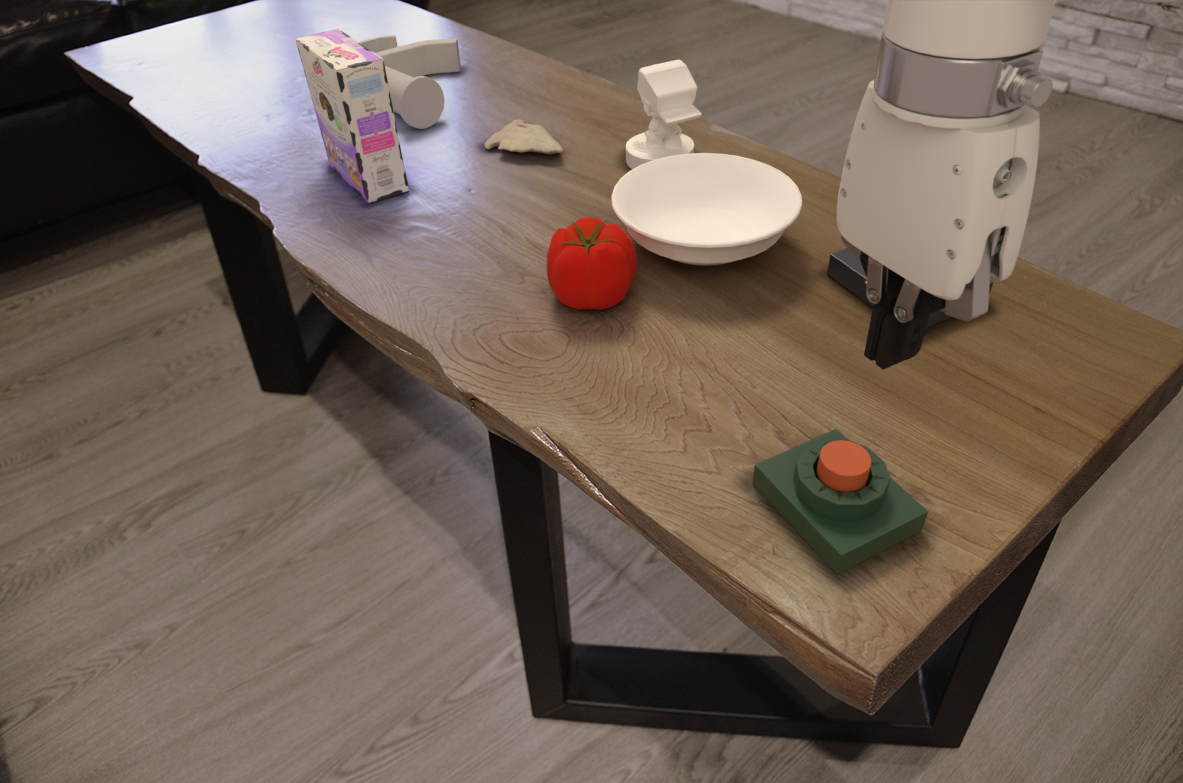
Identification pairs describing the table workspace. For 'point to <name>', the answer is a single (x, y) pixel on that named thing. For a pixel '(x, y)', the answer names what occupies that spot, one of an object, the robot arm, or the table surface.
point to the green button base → (838, 505)
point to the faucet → (416, 75)
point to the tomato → (591, 264)
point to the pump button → (843, 466)
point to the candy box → (354, 113)
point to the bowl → (706, 207)
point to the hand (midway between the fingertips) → (890, 355)
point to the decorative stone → (524, 139)
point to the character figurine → (664, 112)
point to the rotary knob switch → (864, 279)
